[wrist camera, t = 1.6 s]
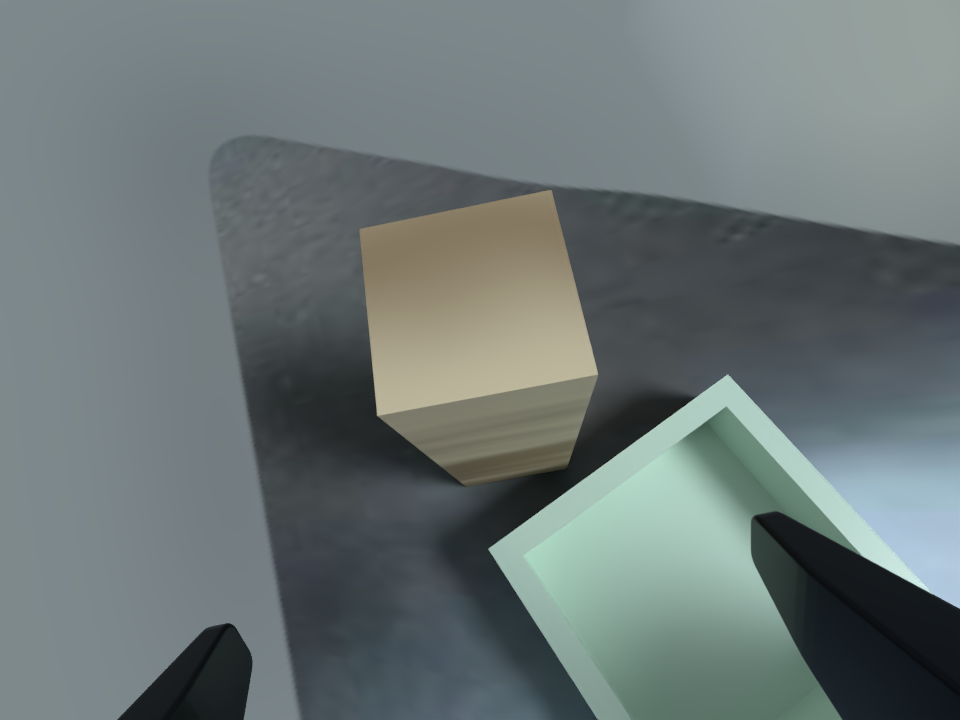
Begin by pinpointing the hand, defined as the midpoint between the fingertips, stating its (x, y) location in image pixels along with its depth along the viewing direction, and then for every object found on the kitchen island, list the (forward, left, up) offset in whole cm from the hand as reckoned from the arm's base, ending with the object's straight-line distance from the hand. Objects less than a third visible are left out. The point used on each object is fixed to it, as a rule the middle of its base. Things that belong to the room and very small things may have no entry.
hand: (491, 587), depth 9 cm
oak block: (+4, -3, -11) cm, 12 cm away
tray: (-4, -5, -11) cm, 13 cm away
